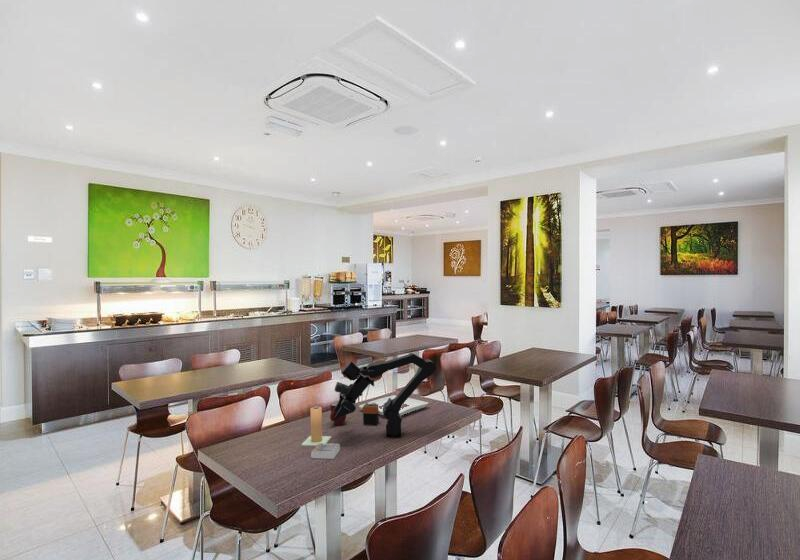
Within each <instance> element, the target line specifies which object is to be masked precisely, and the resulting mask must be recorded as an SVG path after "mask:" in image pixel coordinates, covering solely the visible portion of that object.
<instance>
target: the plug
mask: <svg viewBox="0 0 800 560" xmlns="http://www.w3.org/2000/svg"><path fill="white" fill-rule="evenodd" d="M322 409H323V408H322V407H321V406H319V405H314V406H313V407H311V408H310V410H309V411H310V412H309V413H310V436H311V441H312V442H320V441H322V436H323V415H322V414H323V411H322Z"/></svg>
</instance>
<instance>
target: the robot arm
mask: <svg viewBox="0 0 800 560" xmlns="http://www.w3.org/2000/svg"><path fill="white" fill-rule="evenodd" d="M410 364H413V365H415V366H416V367H418V368H417V370H416V373H415V375H414V376H413V377H412V378H411V379H410V380H409V381H408V382H407V383H406V384H405V386H404V387H403V388H402V389H401V390H400V392H399V393H398V394H397V395H395V396H396V397H395V398H394V399H392V400H391V398H389V399H388V401H387V402H386V403H384V407H383V413H384V416H383V417H384V418H385V419H386V420H387V421H386V424H385V434H386V437H387V438H402V436H403V433H404V431H403V419H402V416H400V414H399V411H400V409H401V407H402V405H403V403H404V402H405V401H406V400H407V399H408V398H410V396H411V395H413V393H414V392H415V391H416V389H418V387H419V386H420V385H421V384H422V382H424V381H425V380H426V379H428V378H430V377H431V376H432V375H433V374H435V372H436V370H437V366H436V364H435V362H433V361H432V360H431V359H427V358H426V359H425V358H423V357H421V356H419V355H416V354H415V353H413V352H410V353H408V354H405V355H402V356H399V357H396V358H392V359H389V360H385V361H374V362H370V363H368V364H367V365H365V366H362V367H359V366H358V365H357V364H355V362H354V361H352V360H351V361H350V362H349V363H347V364H346V365H345V366H344V367H343V369H342V370H341V374H342V375H343V376H345V378H346V379H348V380H349V381H354V382H353V383H350V384H349V385H348V384H345V383H342V382H339V381H337V382H336V384H335V386H334V392H335V393H339V400H338V403H337V405H336V407H335V409H334V411H335V412H337V411H338V410H339V411H338V413H337V414H336V416H335V419H338V418H340V417H342V416H345V415H346V416H347V415H349V414H352V413H354V412H355V411H356V410H357V409H356V408H357V407H356V403H357V400H358V399H359V397H362V396H363V393H364V391H366V389H368V387H369V386H372V387H375V379H376V378H378V377H380V376H382V375H383V374H385V373H386V372H388V371H391V370H394V369H397V368H401V367H404V366H407V365H410Z"/></svg>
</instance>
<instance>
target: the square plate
mask: <svg viewBox="0 0 800 560" xmlns="http://www.w3.org/2000/svg"><path fill="white" fill-rule="evenodd" d="M396 396H397V395H396V394H395V395H394V394H392V395H390V396H386V397H382V398H378V399H375V400H371V401H368V402H366V403H369V404H372V403H376V404H378V409H379V414H380V415H379V416H383V415H384V413H383V407H382V409H380V408H379V406H382V405H384V403H386V402H387V401H388V399H389V398H391V400H392V399H394V398H395V397H396ZM366 403H363V404H360V405H358V407H359V408H360V409H361V410H363V406H364V405H365V404H366ZM404 404H407V405H409V406H407V407H404V408H403V409H402V408H401V410H400V411H399V414H400V416H401V417H402V415H403V416H405V415H404V414H406V415H408V414H411V413H413V412H412V411H414V412H416V411H418V410H421V409H423V408H425V407H426V406H427V405H428V404H429V402H428V401H423V400H419V399H415V398H411V397H408V399H407V400H406V401H405V402H404ZM415 410H416V411H415ZM410 412H411V413H410ZM407 413H408V414H407Z"/></svg>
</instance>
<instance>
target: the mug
mask: <svg viewBox="0 0 800 560" xmlns="http://www.w3.org/2000/svg"><path fill="white" fill-rule="evenodd" d="M338 401H339V400H338ZM338 401H333V402H331V403H330V408H329V409H330V416H329V417H330V421H331V422H334V425H336V426H342V425H344V423H345V421H346V418H347V415H345V416H342V417H340V418H338V419H335V416H336V414H337V413H338V411H339V410H338V411H337V412H335V411H334V409H335V407H336V405H337V403H338Z"/></svg>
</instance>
